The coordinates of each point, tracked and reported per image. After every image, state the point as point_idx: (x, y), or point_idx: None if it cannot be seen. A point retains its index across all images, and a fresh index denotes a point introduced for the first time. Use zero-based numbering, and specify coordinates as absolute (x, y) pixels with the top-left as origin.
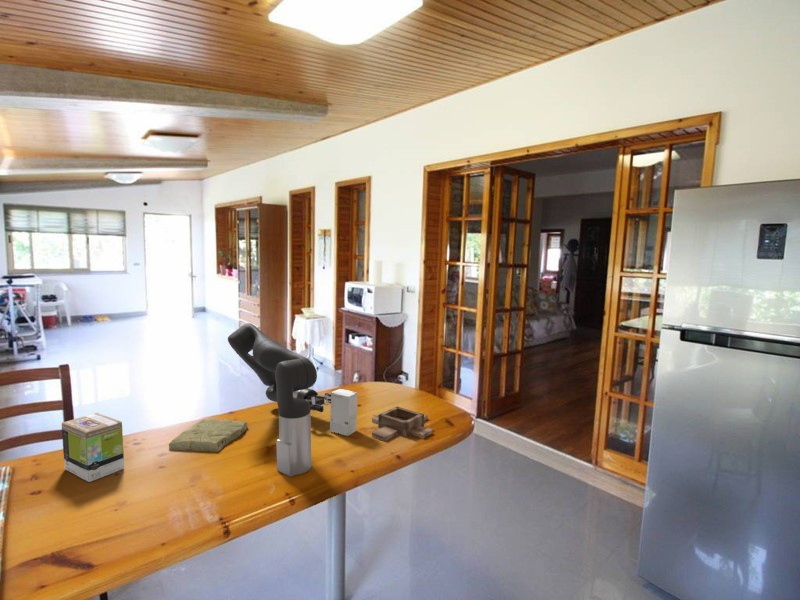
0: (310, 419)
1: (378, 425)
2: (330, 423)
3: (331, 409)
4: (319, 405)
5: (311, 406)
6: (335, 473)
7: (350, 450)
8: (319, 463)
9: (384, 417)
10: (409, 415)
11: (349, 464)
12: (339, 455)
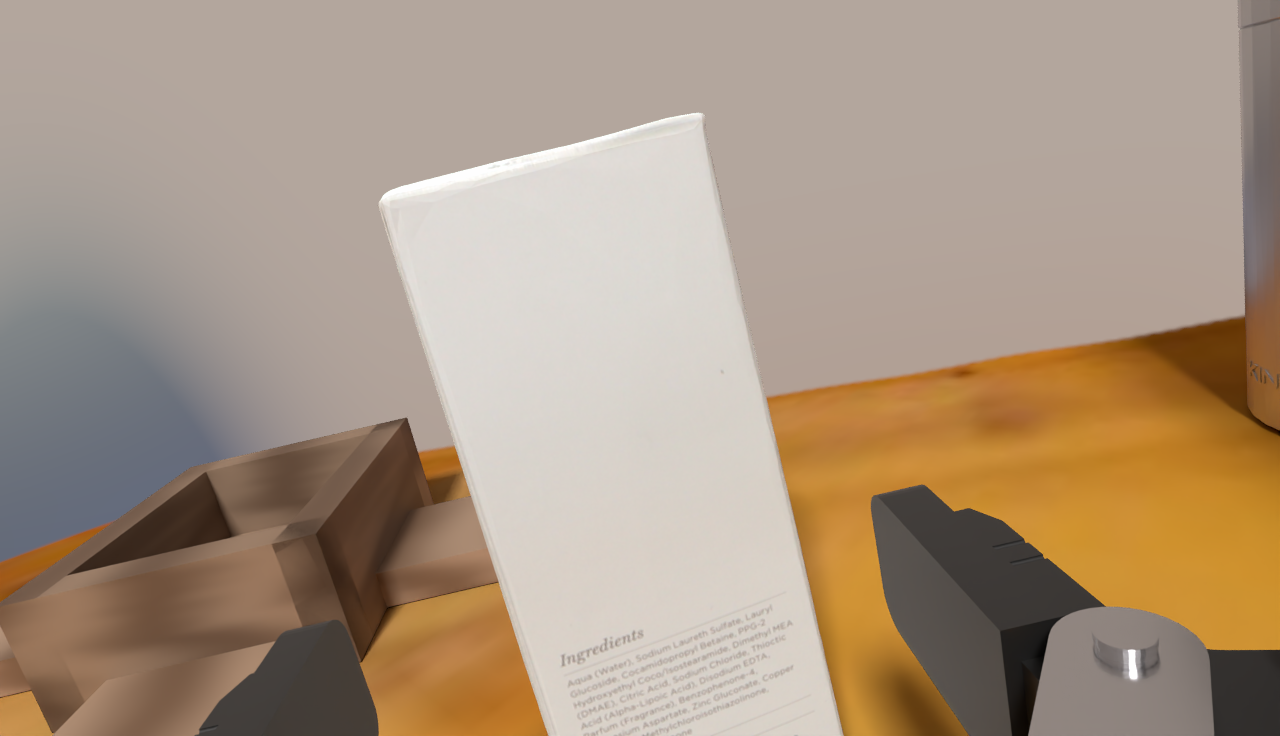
0: (1238, 7)
1: (353, 641)
2: (831, 691)
3: (774, 446)
4: (946, 531)
5: (1248, 658)
6: (1069, 368)
7: (862, 480)
8: (1169, 423)
9: (346, 507)
10: (170, 536)
11: (952, 400)
12: (975, 457)
